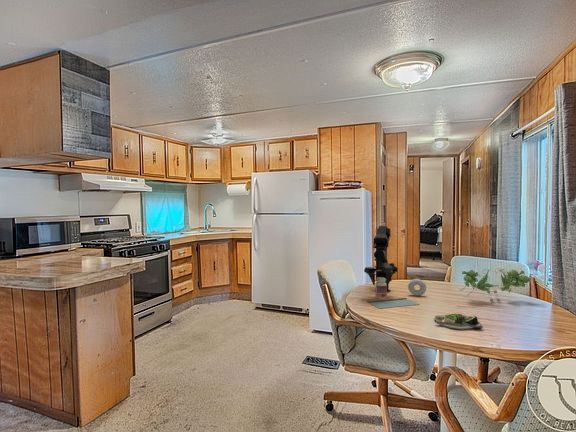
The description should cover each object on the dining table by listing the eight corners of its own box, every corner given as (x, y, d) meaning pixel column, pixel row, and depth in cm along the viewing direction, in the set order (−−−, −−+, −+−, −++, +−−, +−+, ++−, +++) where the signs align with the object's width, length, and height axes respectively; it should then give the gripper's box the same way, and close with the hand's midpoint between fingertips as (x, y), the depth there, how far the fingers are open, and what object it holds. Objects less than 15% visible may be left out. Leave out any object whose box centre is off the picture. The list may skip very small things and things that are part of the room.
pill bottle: (388, 298, 187) (388, 278, 186) (378, 299, 185) (378, 279, 185) (383, 295, 193) (383, 276, 192) (373, 296, 191) (373, 277, 191)
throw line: (367, 302, 180) (367, 301, 180) (405, 298, 186) (405, 297, 186) (368, 302, 179) (368, 302, 179) (406, 299, 185) (406, 298, 185)
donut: (426, 295, 192) (426, 278, 191) (426, 297, 188) (426, 280, 188) (408, 294, 195) (408, 277, 195) (408, 295, 192) (408, 279, 192)
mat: (369, 303, 178) (369, 302, 178) (408, 299, 184) (408, 299, 184) (379, 308, 168) (379, 308, 168) (419, 304, 174) (419, 304, 174)
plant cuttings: (454, 310, 185) (470, 295, 167) (446, 282, 195) (460, 265, 177) (518, 310, 183) (541, 295, 165) (506, 282, 193) (527, 264, 175)
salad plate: (445, 333, 135) (445, 322, 135) (423, 319, 153) (423, 309, 153) (489, 331, 137) (489, 320, 137) (462, 317, 155) (462, 307, 154)
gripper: (373, 260, 178) (373, 288, 179) (403, 258, 183) (403, 286, 184) (363, 257, 189) (363, 284, 190) (392, 256, 194) (392, 282, 194)
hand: (381, 284), depth 189 cm, fingers open, 9 cm apart
